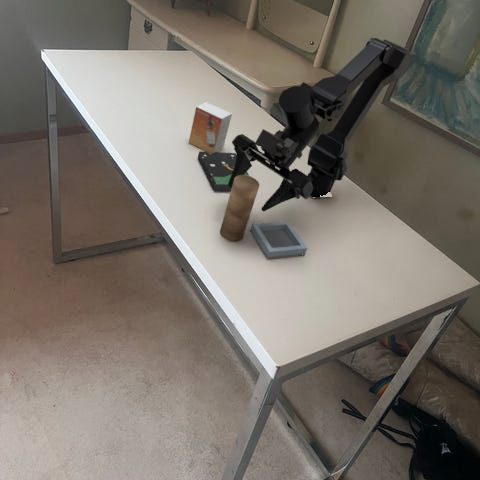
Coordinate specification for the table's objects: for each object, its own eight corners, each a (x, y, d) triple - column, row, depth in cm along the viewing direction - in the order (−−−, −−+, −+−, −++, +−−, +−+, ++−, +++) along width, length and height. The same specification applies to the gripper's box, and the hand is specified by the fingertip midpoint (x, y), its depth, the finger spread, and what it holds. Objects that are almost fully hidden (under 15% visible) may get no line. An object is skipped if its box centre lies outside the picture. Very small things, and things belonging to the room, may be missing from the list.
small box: (188, 143, 122) (195, 106, 115) (199, 136, 126) (206, 100, 120) (213, 155, 120) (222, 118, 114) (223, 148, 124) (232, 112, 118)
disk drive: (196, 160, 117) (213, 194, 107) (197, 151, 115) (215, 184, 105) (233, 161, 121) (253, 193, 111) (235, 152, 120) (256, 184, 110)
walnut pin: (237, 225, 99) (253, 174, 91) (246, 240, 96) (263, 189, 88) (216, 226, 97) (230, 175, 89) (225, 242, 94) (240, 190, 86)
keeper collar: (285, 228, 103) (288, 221, 101) (304, 255, 97) (307, 248, 95) (249, 230, 99) (252, 223, 97) (267, 259, 93) (269, 251, 91)
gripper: (249, 95, 89) (198, 156, 88) (326, 140, 81) (271, 208, 80) (263, 125, 99) (217, 181, 98) (332, 168, 91) (283, 228, 91)
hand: (245, 198), depth 92 cm, fingers open, 9 cm apart
